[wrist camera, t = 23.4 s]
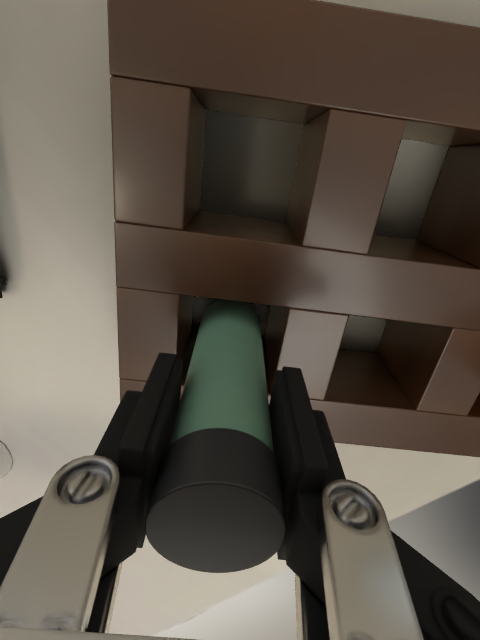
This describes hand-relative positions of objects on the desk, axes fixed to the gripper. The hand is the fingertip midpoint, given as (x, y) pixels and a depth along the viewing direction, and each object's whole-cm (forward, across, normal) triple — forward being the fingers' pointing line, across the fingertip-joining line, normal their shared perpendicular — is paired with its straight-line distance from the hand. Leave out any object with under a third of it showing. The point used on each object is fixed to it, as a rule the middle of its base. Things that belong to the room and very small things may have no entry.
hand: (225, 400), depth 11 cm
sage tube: (+6, 0, 0) cm, 6 cm away
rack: (+8, -7, -3) cm, 11 cm away
